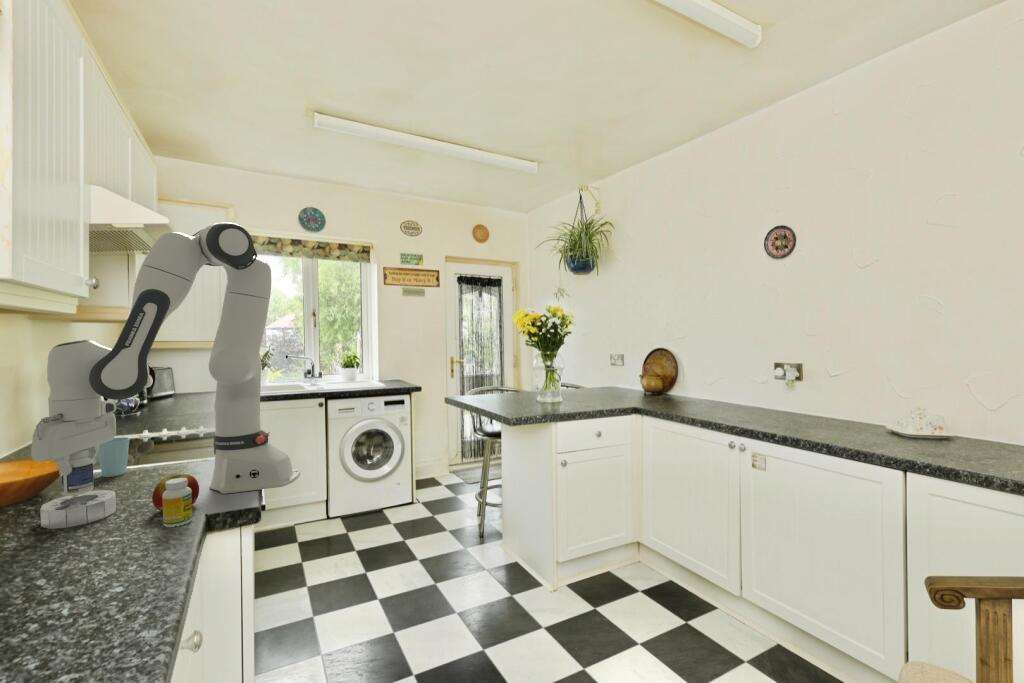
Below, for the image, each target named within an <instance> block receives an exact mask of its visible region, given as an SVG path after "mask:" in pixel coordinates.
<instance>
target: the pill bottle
mask: <svg viewBox="0 0 1024 683" xmlns="http://www.w3.org/2000/svg"><path fill="white" fill-rule="evenodd" d="M88 455H89V450H88V449H85V450H82V451H79V452H76V453H73V454H70V455H69V458H70V459H69V460H68V462H69V464H70V466H72V465H73V473H71V474H68V475H60V477H61V493H62V495H63V496H71V495H78V494H83V493H86V492H89V491H94V490H93V489H94V486H95V485H94V484H95V483H94V465H93V460H92V459H91V458H89V457H87V456H88Z"/></svg>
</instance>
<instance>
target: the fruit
mask: <svg viewBox="0 0 1024 683" xmlns="http://www.w3.org/2000/svg"><path fill="white" fill-rule="evenodd" d="M176 478H187V479H188V484H187V486H186V487H189V488H191V490H192V505H194V504H195V503H196V501H197V500H198V498H199V495H200V485H199V482H198V480H197V479H196V477H194V475H191V474H187V473H177V474H171V475H168V476H165V477H164V478H162V479H161V480H160V481H158V483H157V484H156V486H155V488H154V490H152V491H153V492H152V494H151V495H152V496H151V498H152V499H151V500H152V505H153V506H154V507H155V509H157V510H158V511H161V512H163V503H162V495H163V493H164V492H165V491H166V490H167V489H166V488H165V486H166V485H165V483H166V482H167V481H169V480H171V479H176Z"/></svg>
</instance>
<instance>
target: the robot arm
mask: <svg viewBox="0 0 1024 683" xmlns="http://www.w3.org/2000/svg"><path fill="white" fill-rule="evenodd" d="M204 266H211V267H222V268H223V269H224V270H225V272H226V278H227V279H226V280H227V281H226V283H227V284H226V288H225V291H224V297H223V303H222V307H221V308H222V309H221V315H220V321H219V324H218V328H217V331H216V333H215V338H214V341H213V345H212V349H211V353H210V358H209V362H208V371H209V374H210V375H211V377H212V378H213V379H214V380H215V381H216V390H215V400H214V429H215V430H214V433H215V434H214V435H213V453H214V468H213V473H212V477H211V483H210V485H209V488H210V489H212V490H215V491H218V492H219V494H223V495H224V494H225V495H226V494H233V493H241V492H248V491H250V492H251V491H257V490H266V489H274V488H275V489H276V488H283V487H286V486H288V485H291V484H292V483H294V482H296V480H298V479H299V477H300V476H301V470H300V469H298V468H293V465H292V461H291V458H290V456H289V454H288V453H287V452H285V451H283V450H281V449H280V448H278V447H277V446H275V445H273V444H271V443H270V442H269V436H271V435H270V434H271V433H270V431H268V432H266V431H264V430H263V429H262V428H261V427H262V426H261V423H262V422H261V420H262V419H261V383H262V382H261V380H262V379H261V378H262V377H261V375H262V374H261V373H262V371H261V369H262V368H261V367H262V363H261V356H260V349H261V347H262V341H263V338H264V334H265V329H266V324H267V318H268V311H269V308H270V307H269V306H270V300H271V294H272V292H271V290H272V269H271V266H270V265H269V264H268V262H266V261H264V260H263V259H261V258H259V257H258V253H257V250H256V248H255V245H254V242H253V238H252V236H251V235H250V233H249V232H248V230H247V229H245V228H244V227H243V226H241V225H240V224H237V223H234V222H228V221H227V222H226V221H223V222H218V223H214V224H210V225H208V226H206V227H205V228H204V229H201V230H198V231H197V232H196V233H194V234H191V236H190V235H188V234H185V233H182V232H179V231H178V232H176V231H167V232H165V233H163V234H161V235H160V236H159V237H158V239H157V240H156V241H155V242H154V244H153V245H152V246H151V248H150V249H149V251H148V252H147V255H146V256H145V258H144V260H143V262H142V264H141V266H140V269H139V271H138V274H137V276H136V278H135V282H134V287H133V293H132V302H131V307H130V308H131V309H130V313H129V314H128V317H127V319H126V322H125V323H124V326H123V328H122V330H121V331H120V334H119V336H118V338H117V341H116V343H114V346H113V347H112V348H109V347H107V346H104V345H101V344H100V343H97V341H94V340H92V339H91V340H90V339H83V340H75V341H70V342H64V343H58V344H57V345H54V347H52V348H50V350H49V353H48V357H47V365H46V370H47V371H46V373H47V374H46V375H47V376H46V378H47V383H48V386H49V390H50V391H49V396H48V400H47V402H48V416H45V417H42V418H41V419H40V421H39V422H38V423H37V424H35V429H34V431H33V433H32V440H31V453H30V454H31V459H32V460H33V461H34V462H49V461H50V462H51V461H53V462H54V464H55V465H56V466H57V468H58V469H59V470H58V473H59V475H60V476H61V475H68V474H71V473H73V465H72V466H70V464H69V462H68V460H69V459H70V458H69V455H70V454H73V453H76V452H79V451H82V450H85V449H88V450H89V455H88V456H87V457H89V458H91V459H92V460H93V466H94V465H95V464H96V457H97V456H98V451H99V445H100V444H103V443H106V442H108V441H112V440H113V439H114V438H116V435H117V422H116V421H117V420H116V418H117V417H116V414H115V413H114V412H116V411H117V405H116V403H115V402H111V401H107V400H102V397H103V398H105V399H109V400H118V401H121V400H126V399H127V400H128V399H130V398H133V397H135V396H136V395H138V394H139V393H140V392H142V391H143V390H144V388H145V387H146V385H147V383H148V379H149V376H150V366H149V364H148V361H147V360H148V357H149V354H150V351H151V349H152V347H153V344H154V342H155V340H156V338H157V335H158V334H159V331H160V329H161V327H162V325H163V324H164V322H165V321H166V319H168V317H169V316H170V315H171V314H172V313H174V311H175V310H177V309H178V308H179V307H180V306H181V304H183V302H184V301H185V299H186V297H187V296H188V294H189V292H190V291H191V290H192V286H193V284H194V282H195V279H196V276H197V274H198V273H199V271H200V270H201V268H202V267H204Z"/></svg>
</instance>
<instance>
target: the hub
mask: <svg viewBox="0 0 1024 683" xmlns="http://www.w3.org/2000/svg"><path fill="white" fill-rule="evenodd" d="M116 498H117V497H116V491H115V490H106V489H103V490H101V489H100V490H91V491H89V492H86V493H83V494H78V495H71V496H66V495H64V496H62V497H57V498H54V499H52V500H50V501H48V502H46V503H43V504H42V505H41V506H40V508H39V510H40V511H39V512H40V527H41V528H45V529H48V530H49V529H50V530H51V529H53V530H54V529H66V528H72V527H77V526H83V525H86V524H90V523H93V522H96V521H99V520H102V519H105V518H107V517H109V516H111V515H112V514H114V513H116V509H117V505H116V503H117V502H116Z"/></svg>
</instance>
